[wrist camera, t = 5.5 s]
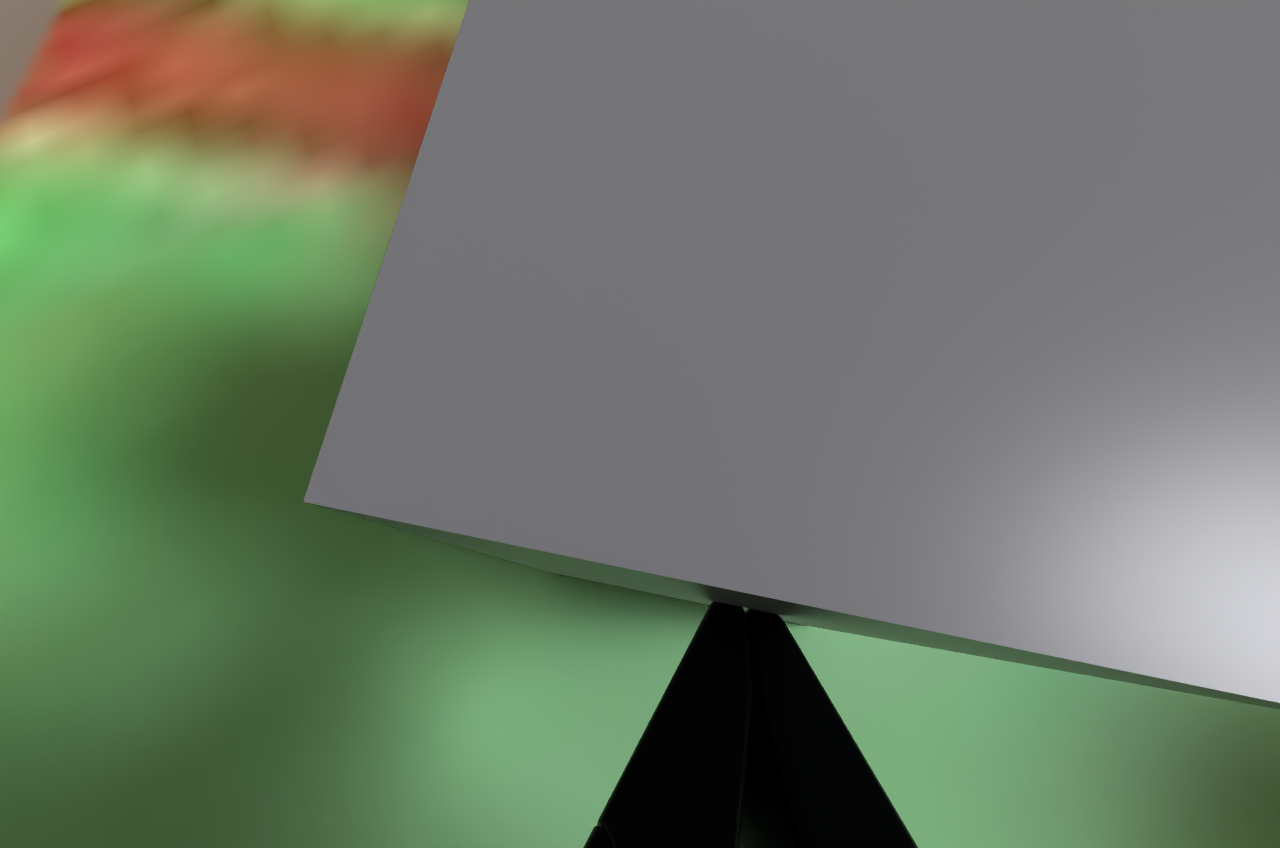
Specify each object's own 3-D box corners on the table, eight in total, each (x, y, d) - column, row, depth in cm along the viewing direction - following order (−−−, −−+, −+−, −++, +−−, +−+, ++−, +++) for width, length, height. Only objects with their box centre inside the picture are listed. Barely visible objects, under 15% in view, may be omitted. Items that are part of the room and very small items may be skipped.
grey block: (809, 626, 15) (1492, 746, 3) (550, 572, 15) (303, 502, 3) (875, 112, 18) (1315, -720, 7) (664, 72, 18) (738, -812, 7)
